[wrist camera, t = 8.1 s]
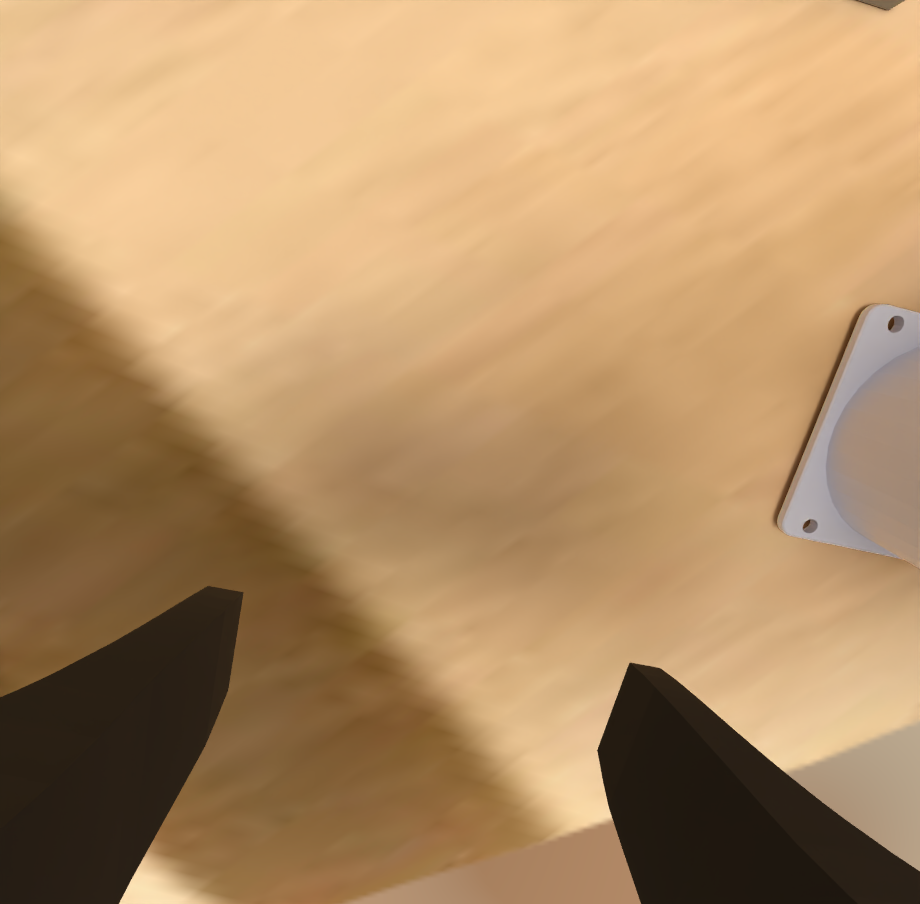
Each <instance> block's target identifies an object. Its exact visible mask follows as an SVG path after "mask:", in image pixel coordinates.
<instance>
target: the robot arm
mask: <svg viewBox="0 0 920 904" xmlns="http://www.w3.org/2000/svg"><path fill="white" fill-rule="evenodd" d="M892 317H893V318H894V326H893V327H892V329H890V330H889V329H888V322H889V320H890V319H891V318H892ZM809 519H811V520H810V524H809V525H808V527H806V528H804V529H803V524H804V523H805V522H806V521H807V520H809ZM777 525H778V528H779V529H780V530H781V531H782V532H784V533H785V534H787V535H789V536H793V537H797V538H802V539H807V540H812V541H817V542H822V543H827V544H831V545H836V546H841V547H846V548H851V549H856V550H860V551H865V552H870V553H875V554H880V555H885V556H890V557H894V558H899V559H903V560H905V561H907V562H909V563H910V564H912V565H914V566H915V567H917V568H919V569H920V313H919V312H915V311H911V310H907V309H903V308H899V307H895V306H892V305H888V304H872V305H870V306H868V307H866V308H865V309H864V310H863V311H862V313H861V314H860V316H859V318H858V321H857V323H856V326H855V328H854V331H853V333H852V335H851V338H850V340H849V343H848V345H847V348H846V350H845V353H844V355H843V358H842V360H841V363H840V365H839V368H838V370H837V372H836V375H835V377H834V380H833V382H832V385H831V387H830V390H829V392H828V395H827V397H826V400H825V402H824V404H823V407H822V409H821V412H820V414H819V417H818V419H817V422H816V424H815V427H814V429H813V432H812V434H811V437H810V439H809V441H808V444H807V446H806V449H805V451H804V454H803V456H802V459H801V461H800V464H799V466H798V469H797V471H796V474H795V476H794V478H793V481H792V483H791V486H790V488H789V491H788V493H787V496H786V498H785V501H784V503H783V506H782V508H781V510H780V513H779V515H778V519H777ZM242 598H243V592H238V591H233V590H227V589H222V588H216V587H211V586H207V587H206V588H204V589H202V590H200V591H199V592H197V593H195V594H194V595H192V596H190V597H189V598H187V599H185V600H184V601H182V602H180V603H179V604H177V605H175V606H174V607H172V608H170V609H169V610H167V611H165V612H164V613H162V614H161V615H159V616H157V617H156V618H154V619H152V620H151V621H149V622H147V623H146V624H144V625H142V626H140V627H139V628H137V629H135V630H133V631H132V632H130V633H128V634H127V635H125V636H123V637H121V638H120V639H118V640H116V641H114V642H113V643H111V644H109V645H107V646H105V647H103V648H101V649H99V650H97V651H96V652H94V653H92V654H90V655H88V656H86V657H84V658H82V659H80V660H78V661H76V662H74V663H73V664H71V665H69V666H67V667H65V668H63V669H61V670H59V671H57V672H55V673H53V674H51V675H49V676H47V677H45V678H43V679H41V680H39V681H36V682H34V683H32V684H30V685H28V686H26V687H23V688H21V689H19V690H17V691H14V692H12V693H10V694H7V695H5V696H3V697H0V904H119V902H120V900H121V898H122V896H123V894H124V893H125V891H126V889H127V887H128V885H129V883H130V881H131V879H132V877H133V875H134V874H135V872H136V870H137V868H138V866H139V865H140V863H141V861H142V859H143V857H144V856H145V854H146V852H147V850H148V848H149V847H150V845H151V843H152V841H153V839H154V838H155V836H156V834H157V832H158V830H159V829H160V827H161V825H162V823H163V821H164V820H165V818H166V816H167V814H168V812H169V811H170V809H171V807H172V805H173V803H174V802H175V800H176V798H177V796H178V794H179V793H180V791H181V789H182V787H183V785H184V783H185V782H186V780H187V778H188V776H189V774H190V773H191V771H192V769H193V767H194V765H195V763H196V762H197V760H198V758H199V756H200V754H201V752H202V750H203V749H204V747H205V745H206V742H207V740H208V738H209V735H210V733H211V731H212V728H213V726H214V724H215V721H216V719H217V716H218V714H219V711H220V709H221V706H222V704H223V702H224V699H225V697H226V694H227V692H228V688H229V681H230V675H231V668H232V662H233V656H234V649H235V643H236V636H237V630H238V624H239V617H240V611H241V604H242ZM597 751H598V756H599V761H600V767H601V772H602V778H603V783H604V787H605V792H606V796H607V801H608V805H609V809H610V812H611V815H612V818H613V821H614V825H615V827H616V830H617V834H618V837H619V839H620V843H621V846H622V849H623V852H624V855H625V858H626V861H627V863H628V866H629V869H630V872H631V875H632V878H633V881H634V884H635V887H636V890H637V893H638V895H639V899H640V902H641V904H920V871H918V870H917V869H915V868H914V867H912V866H911V865H909V864H908V863H906V862H905V861H903V860H902V859H900V858H899V857H897V856H895V855H894V854H893V853H891V852H890V851H888V850H887V849H886V848H884V847H883V846H882V845H880V844H878V843H877V842H876V841H874V840H873V839H872V838H870V837H869V836H868V835H866V834H865V833H863V832H862V831H860V830H859V829H858V828H856V827H855V826H853V825H852V824H851V823H849V822H848V821H846V820H845V819H844V818H842V817H841V816H840V815H838V814H837V813H836V812H834V811H833V810H832V809H830V808H829V807H828V806H826V805H825V804H824V803H822V802H821V801H820V800H819V799H817V798H816V797H815V796H813V795H812V794H811V793H810V792H808V791H807V790H806V789H805V788H804V787H802V786H801V785H800V784H798V783H797V782H796V781H795V780H793V779H792V778H791V777H790V776H788V775H787V774H786V773H785V772H783V771H782V770H781V769H780V768H779V767H777V766H776V765H775V764H774V763H773V762H771V761H770V760H769V759H768V758H767V757H765V756H764V755H763V754H762V753H761V752H759V751H758V750H757V749H756V748H755V747H754V746H752V745H751V744H750V743H749V742H748V741H747V740H745V739H744V738H743V737H742V736H741V735H740V734H738V733H737V732H736V731H735V730H734V729H733V728H732V727H730V726H729V725H728V724H727V723H726V722H725V721H723V720H722V719H721V718H720V717H719V716H718V715H717V714H715V713H714V712H713V711H712V710H711V709H710V708H709V707H707V706H706V705H705V704H704V703H703V702H702V701H700V700H699V699H698V698H697V697H696V696H695V695H693V694H692V693H691V692H690V691H689V690H687V689H686V688H685V687H684V686H683V685H681V684H680V683H679V682H678V681H677V680H675V679H674V678H673V677H671V676H670V675H669V674H667V673H666V672H665V671H663V670H662V669H660V668H656V667H651V666H645V665H640V664H634V663H629V666H628V668H627V671H626V674H625V677H624V679H623V682H622V685H621V687H620V690H619V693H618V696H617V698H616V701H615V704H614V706H613V709H612V712H611V715H610V717H609V720H608V723H607V725H606V728H605V731H604V734H603V736H602V739H601V742H600V745H599V747H598V750H597Z"/></svg>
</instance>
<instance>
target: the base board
mask: <svg viewBox="0 0 920 904" xmlns="http://www.w3.org/2000/svg"><path fill="white" fill-rule="evenodd" d="M858 1H861V2H864V3H867V4H871V5H874V6H877V7H880V8H883V9H886V10H890V9H891V8H893V7H895V6H896V5H898V4H900V3H901V2H903V1H905V0H858Z"/></svg>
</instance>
